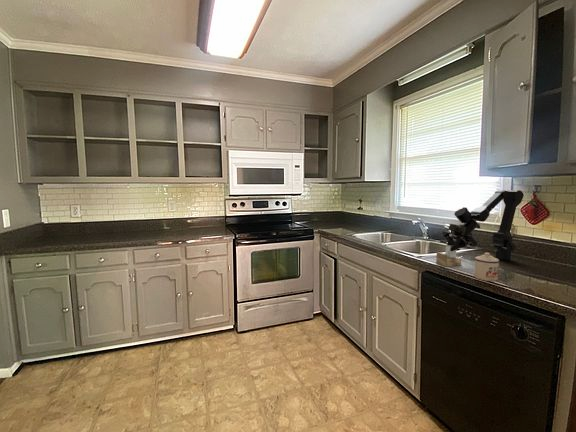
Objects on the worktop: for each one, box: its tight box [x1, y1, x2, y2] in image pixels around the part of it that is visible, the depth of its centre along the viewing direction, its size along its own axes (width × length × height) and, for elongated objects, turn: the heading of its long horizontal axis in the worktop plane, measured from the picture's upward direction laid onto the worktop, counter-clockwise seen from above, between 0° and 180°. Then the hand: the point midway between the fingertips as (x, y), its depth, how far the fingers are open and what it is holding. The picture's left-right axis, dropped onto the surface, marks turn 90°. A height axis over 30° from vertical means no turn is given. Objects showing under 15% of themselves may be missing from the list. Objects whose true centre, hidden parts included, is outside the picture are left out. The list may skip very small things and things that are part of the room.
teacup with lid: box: [473, 252, 500, 282], centre depth 126 cm, size 12×9×12 cm
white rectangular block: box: [444, 244, 457, 259], centre depth 150 cm, size 4×3×10 cm
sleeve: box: [435, 251, 462, 267], centre depth 150 cm, size 10×6×6 cm, turn 103°
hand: (448, 250), depth 149 cm, fingers closed on white rectangular block, 3 cm apart
